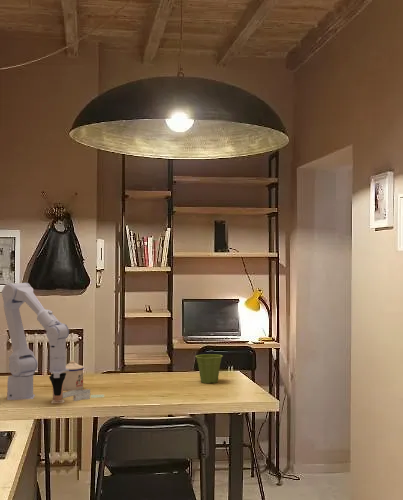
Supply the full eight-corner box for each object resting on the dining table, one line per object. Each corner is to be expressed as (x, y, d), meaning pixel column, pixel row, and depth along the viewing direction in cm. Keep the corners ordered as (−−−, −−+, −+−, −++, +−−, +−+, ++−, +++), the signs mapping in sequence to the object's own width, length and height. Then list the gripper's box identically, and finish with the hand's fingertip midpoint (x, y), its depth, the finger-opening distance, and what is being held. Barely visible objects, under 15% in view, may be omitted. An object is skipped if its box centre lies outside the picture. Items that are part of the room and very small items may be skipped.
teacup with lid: (80, 391, 258) (80, 362, 258) (58, 391, 259) (58, 362, 259) (88, 386, 270) (88, 358, 270) (66, 385, 271) (66, 357, 271)
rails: (57, 402, 237) (57, 396, 237) (59, 395, 249) (59, 390, 249) (89, 400, 239) (89, 395, 239) (90, 394, 251) (90, 389, 251)
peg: (52, 400, 235) (52, 381, 235) (53, 398, 239) (53, 379, 239) (62, 400, 236) (62, 381, 236) (63, 398, 239) (63, 379, 240)
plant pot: (223, 379, 282) (223, 353, 283) (221, 384, 271) (221, 357, 271) (196, 379, 284) (196, 353, 284) (193, 384, 272) (193, 357, 272)
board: (50, 405, 234) (50, 403, 234) (53, 396, 249) (53, 395, 249) (105, 402, 237) (105, 401, 237) (105, 394, 252) (105, 393, 252)
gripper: (68, 359, 231) (68, 398, 231) (69, 354, 245) (69, 389, 245) (47, 360, 230) (47, 398, 230) (50, 354, 244) (50, 390, 244)
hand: (57, 394), depth 237 cm, fingers closed on peg, 4 cm apart
